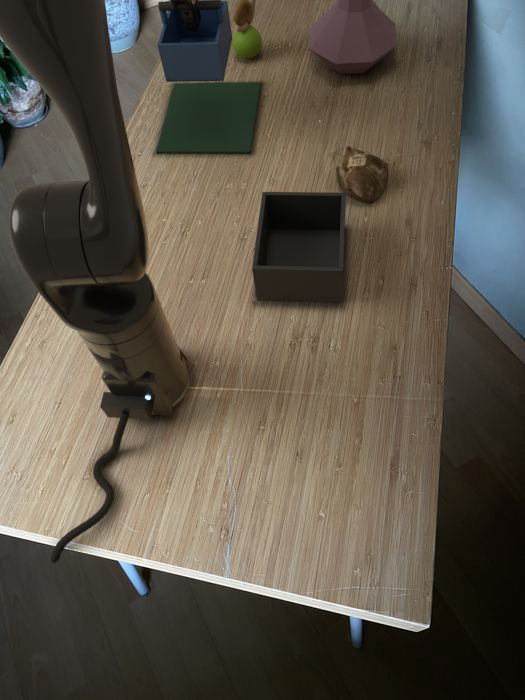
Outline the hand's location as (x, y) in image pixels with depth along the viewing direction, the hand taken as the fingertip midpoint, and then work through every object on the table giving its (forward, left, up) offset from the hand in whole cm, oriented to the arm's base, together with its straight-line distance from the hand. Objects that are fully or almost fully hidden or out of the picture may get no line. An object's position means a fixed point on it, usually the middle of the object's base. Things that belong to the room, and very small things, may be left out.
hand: (193, 25), depth 89 cm
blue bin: (0, 0, -6) cm, 6 cm away
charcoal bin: (-32, -18, -17) cm, 40 cm away
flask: (+16, -24, -17) cm, 33 cm away
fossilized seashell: (-16, -26, -17) cm, 35 cm away
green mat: (0, 0, -17) cm, 17 cm away
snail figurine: (+18, -5, -17) cm, 25 cm away
